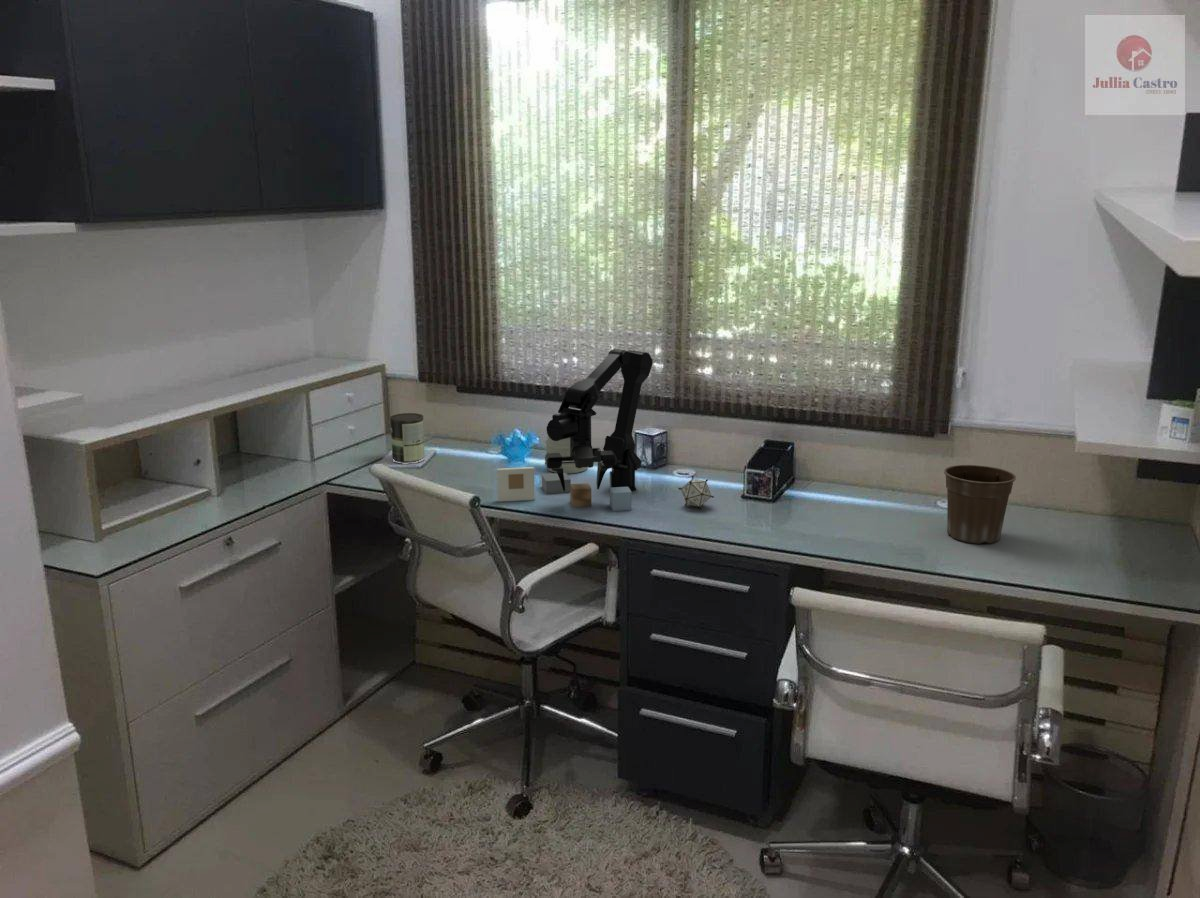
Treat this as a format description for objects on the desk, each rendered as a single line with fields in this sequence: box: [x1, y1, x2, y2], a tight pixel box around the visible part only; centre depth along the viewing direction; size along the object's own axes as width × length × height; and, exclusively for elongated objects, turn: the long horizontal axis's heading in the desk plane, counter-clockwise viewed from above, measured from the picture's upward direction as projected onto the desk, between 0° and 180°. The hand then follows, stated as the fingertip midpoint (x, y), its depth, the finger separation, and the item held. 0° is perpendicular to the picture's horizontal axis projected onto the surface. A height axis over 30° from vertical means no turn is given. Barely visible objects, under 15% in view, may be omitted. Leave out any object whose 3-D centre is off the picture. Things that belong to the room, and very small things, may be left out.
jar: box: [545, 429, 589, 475], centre depth 293 cm, size 13×13×18 cm
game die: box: [678, 475, 715, 511], centre depth 258 cm, size 9×8×10 cm
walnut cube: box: [569, 482, 592, 508], centre depth 261 cm, size 5×5×5 cm
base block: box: [541, 472, 572, 495], centre depth 274 cm, size 7×7×4 cm
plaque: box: [496, 466, 536, 502], centre depth 264 cm, size 10×2×9 cm, turn 100°
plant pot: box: [943, 464, 1017, 544], centre depth 235 cm, size 16×16×16 cm
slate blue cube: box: [609, 486, 633, 512], centre depth 258 cm, size 5×5×5 cm
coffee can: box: [389, 412, 426, 463], centre depth 303 cm, size 10×10×14 cm
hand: (580, 489), depth 261 cm, fingers open, 9 cm apart
